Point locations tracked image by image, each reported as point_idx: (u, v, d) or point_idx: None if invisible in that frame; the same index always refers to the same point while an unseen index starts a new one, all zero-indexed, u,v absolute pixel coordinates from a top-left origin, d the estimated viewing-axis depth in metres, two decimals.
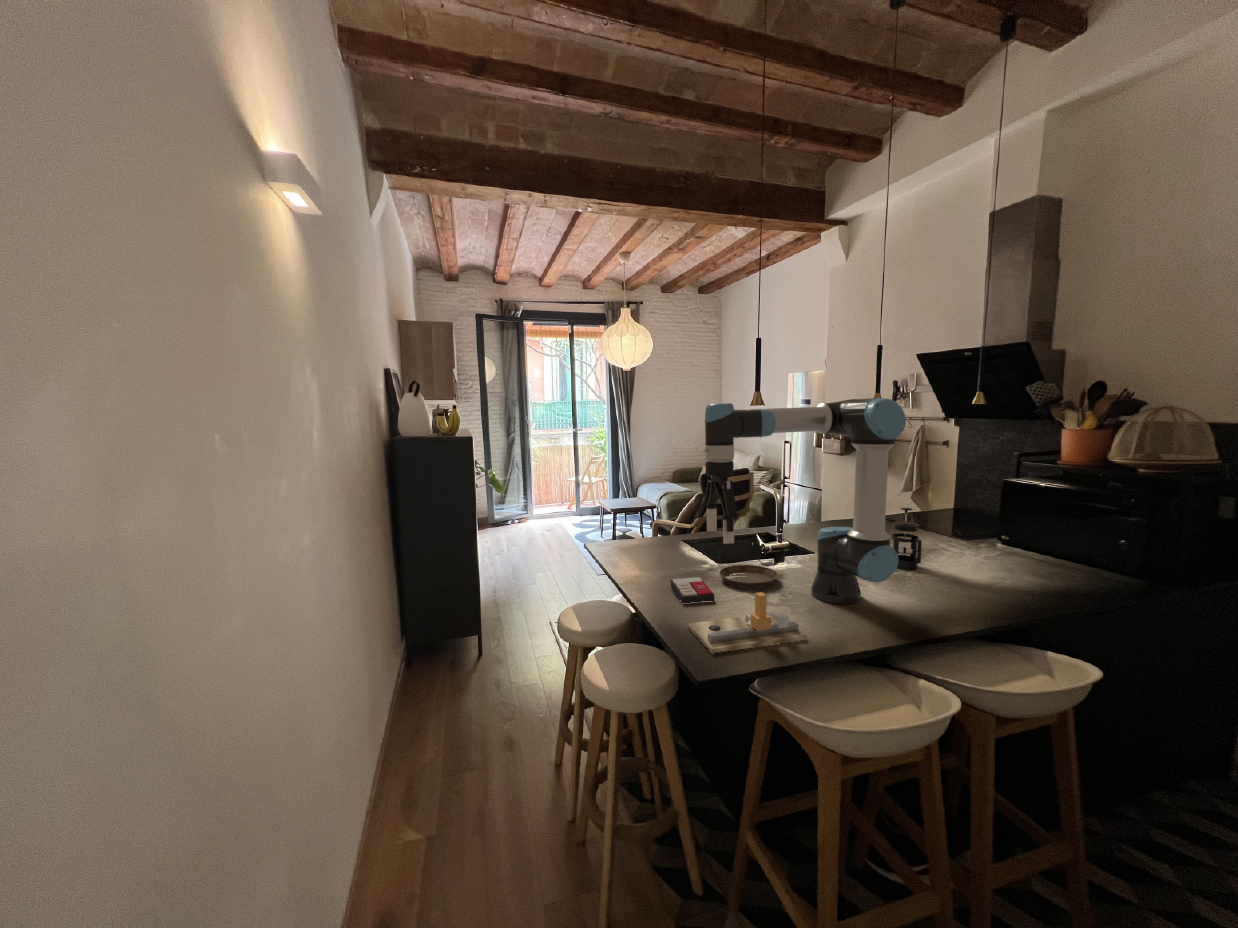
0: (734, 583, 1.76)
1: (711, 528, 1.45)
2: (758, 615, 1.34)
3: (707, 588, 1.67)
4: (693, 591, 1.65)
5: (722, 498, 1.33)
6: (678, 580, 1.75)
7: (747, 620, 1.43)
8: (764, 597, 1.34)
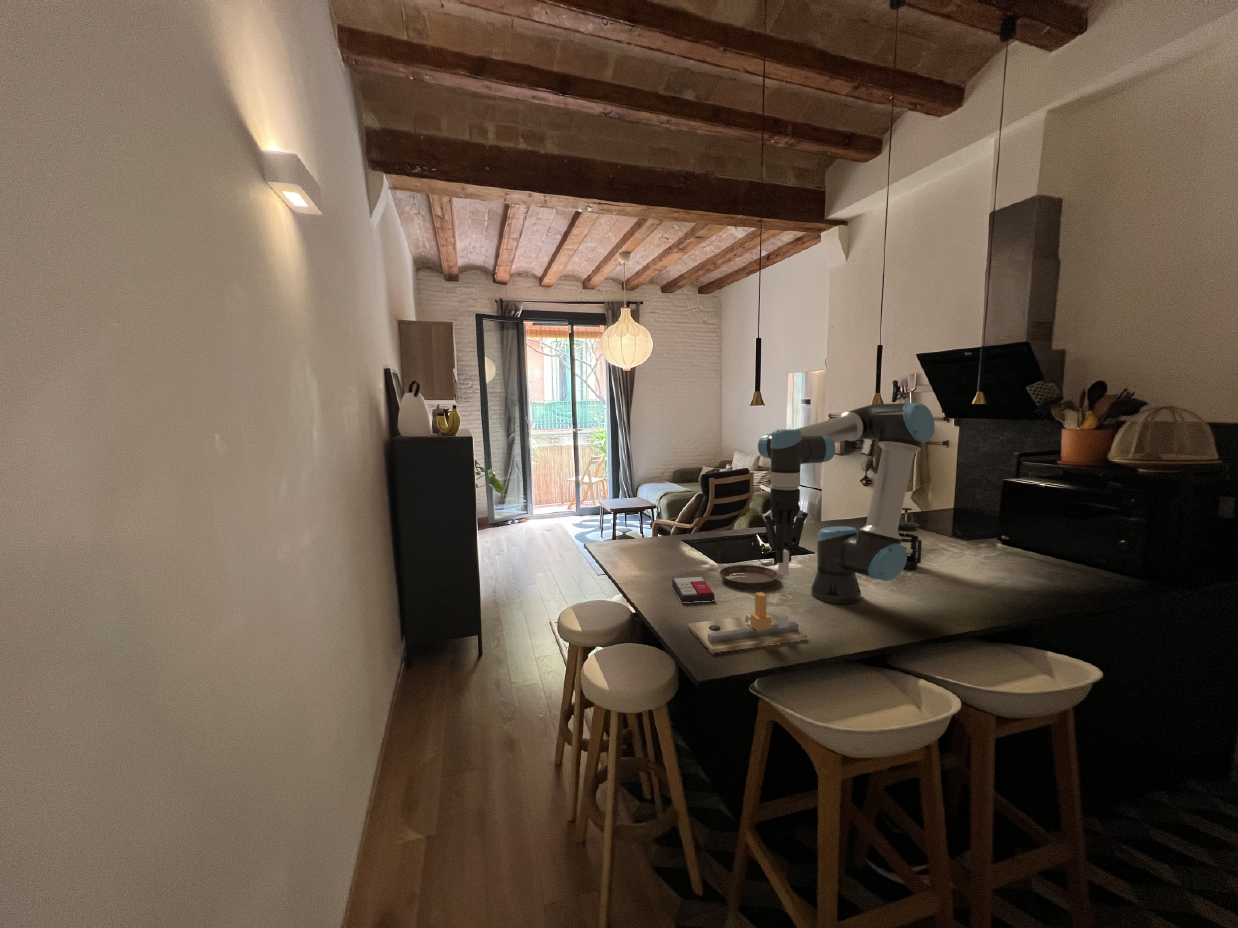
0: (734, 583, 1.76)
1: None
2: (758, 615, 1.34)
3: (707, 588, 1.67)
4: (693, 590, 1.65)
5: (776, 528, 1.35)
6: (679, 579, 1.75)
7: (747, 620, 1.43)
8: (764, 597, 1.34)
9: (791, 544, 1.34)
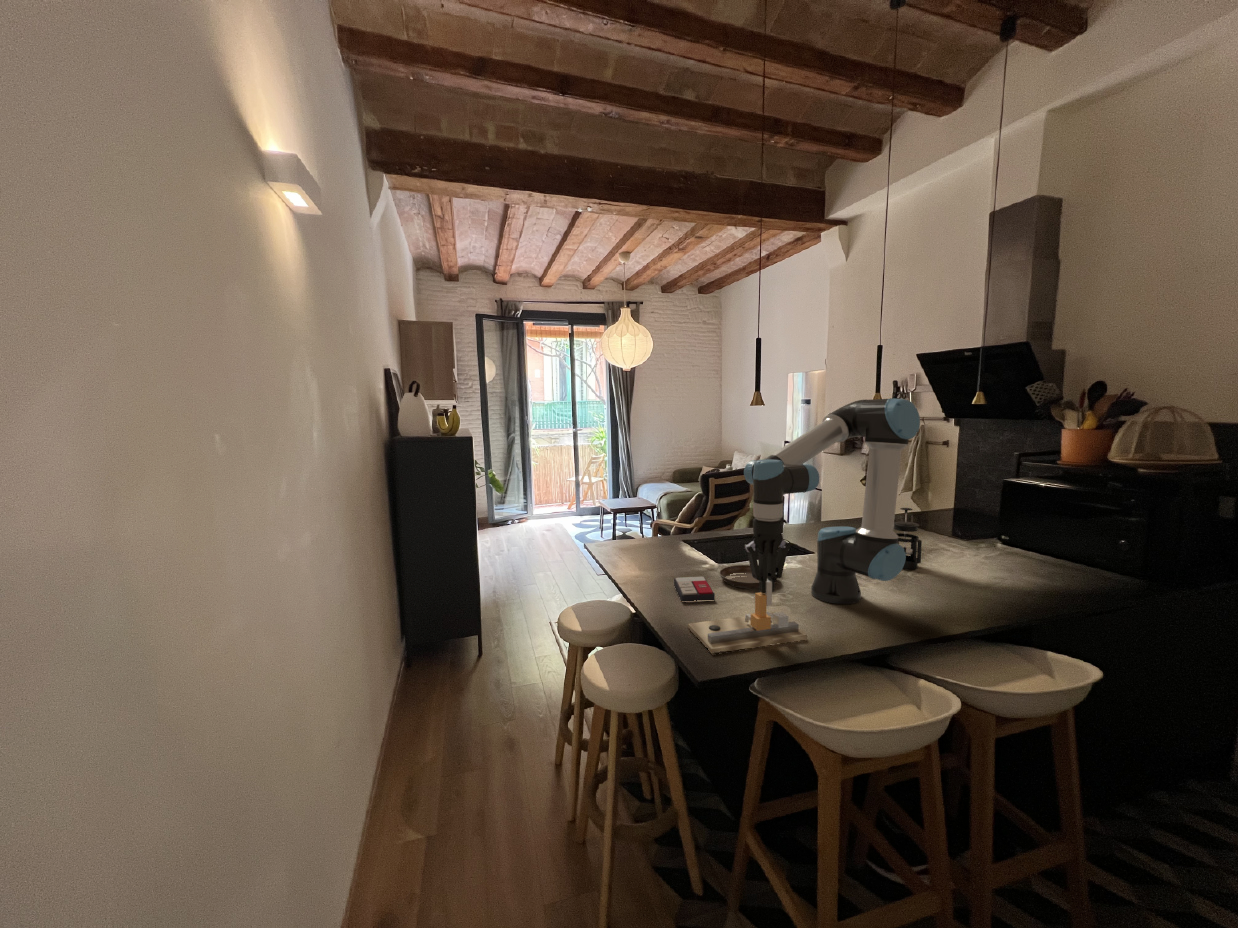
0: (734, 583, 1.76)
1: None
2: (758, 615, 1.34)
3: (708, 587, 1.68)
4: (693, 590, 1.66)
5: (759, 558, 1.35)
6: (681, 579, 1.76)
7: (747, 620, 1.43)
8: (764, 597, 1.34)
9: (774, 574, 1.34)
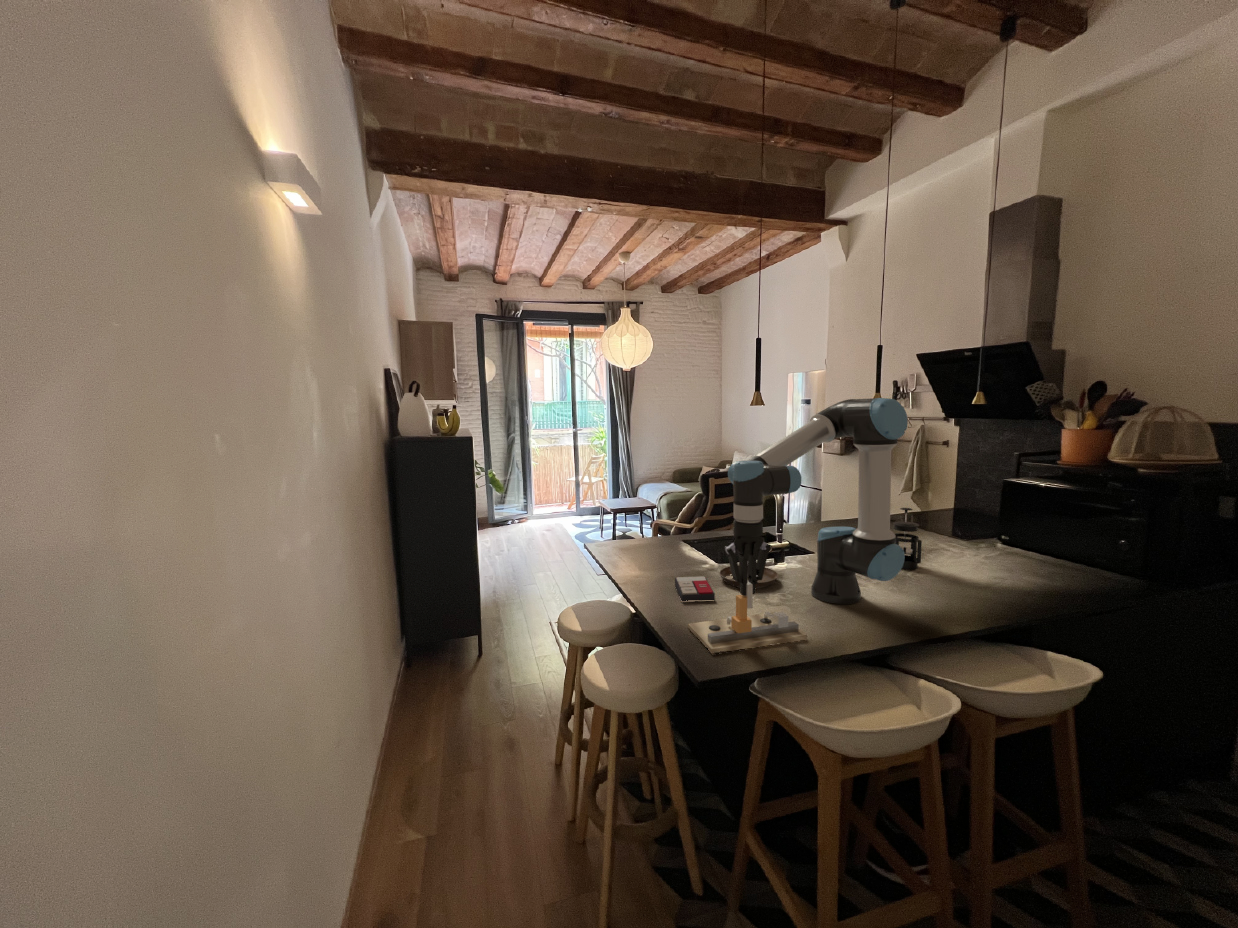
0: (734, 583, 1.76)
1: None
2: (739, 618, 1.33)
3: (708, 587, 1.68)
4: (693, 590, 1.66)
5: (739, 560, 1.33)
6: (682, 578, 1.76)
7: (729, 623, 1.41)
8: (745, 599, 1.32)
9: (755, 577, 1.32)
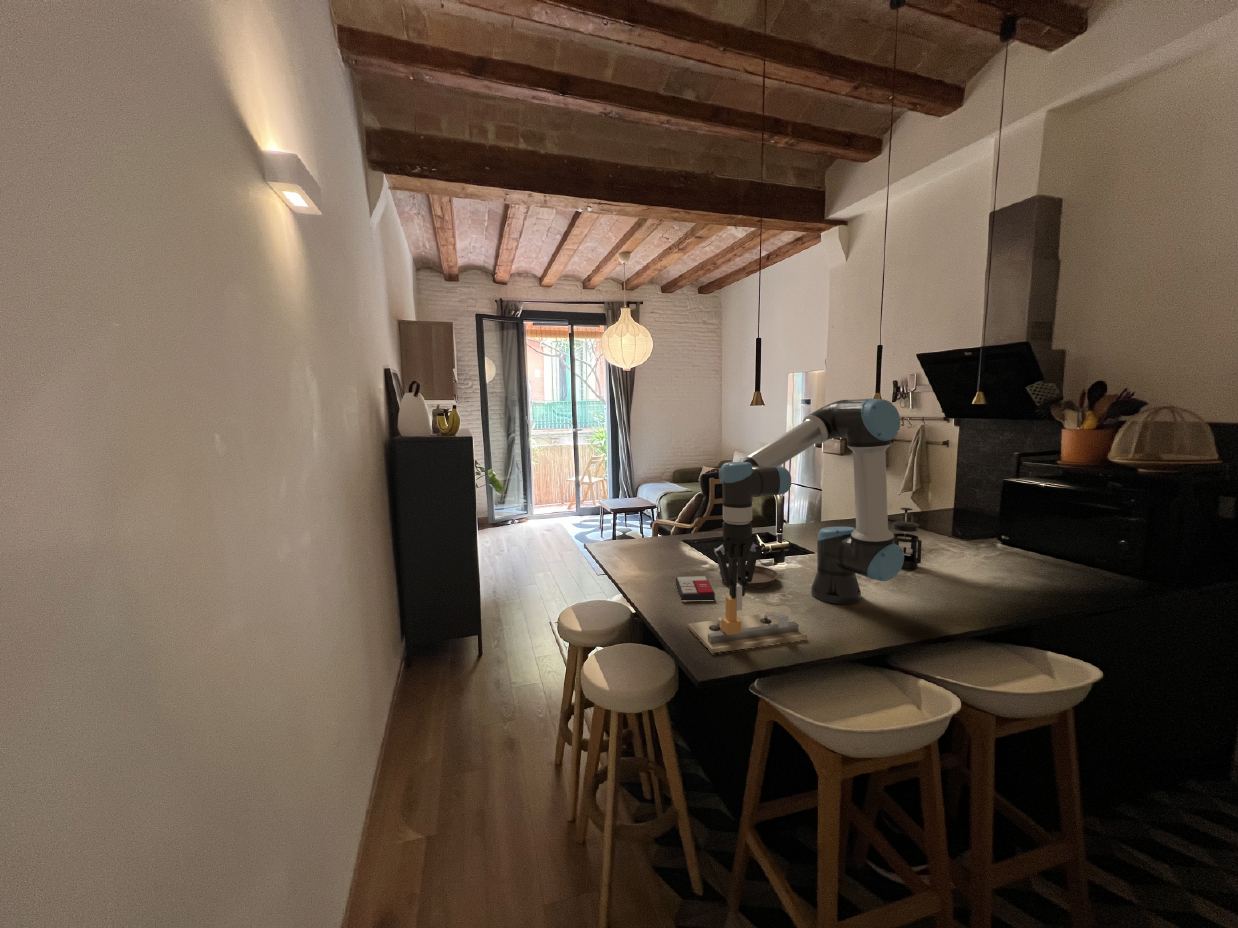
0: None
1: None
2: (728, 619, 1.32)
3: (709, 587, 1.68)
4: (694, 589, 1.66)
5: (729, 562, 1.32)
6: (683, 578, 1.77)
7: (719, 624, 1.41)
8: (734, 601, 1.32)
9: (744, 578, 1.32)
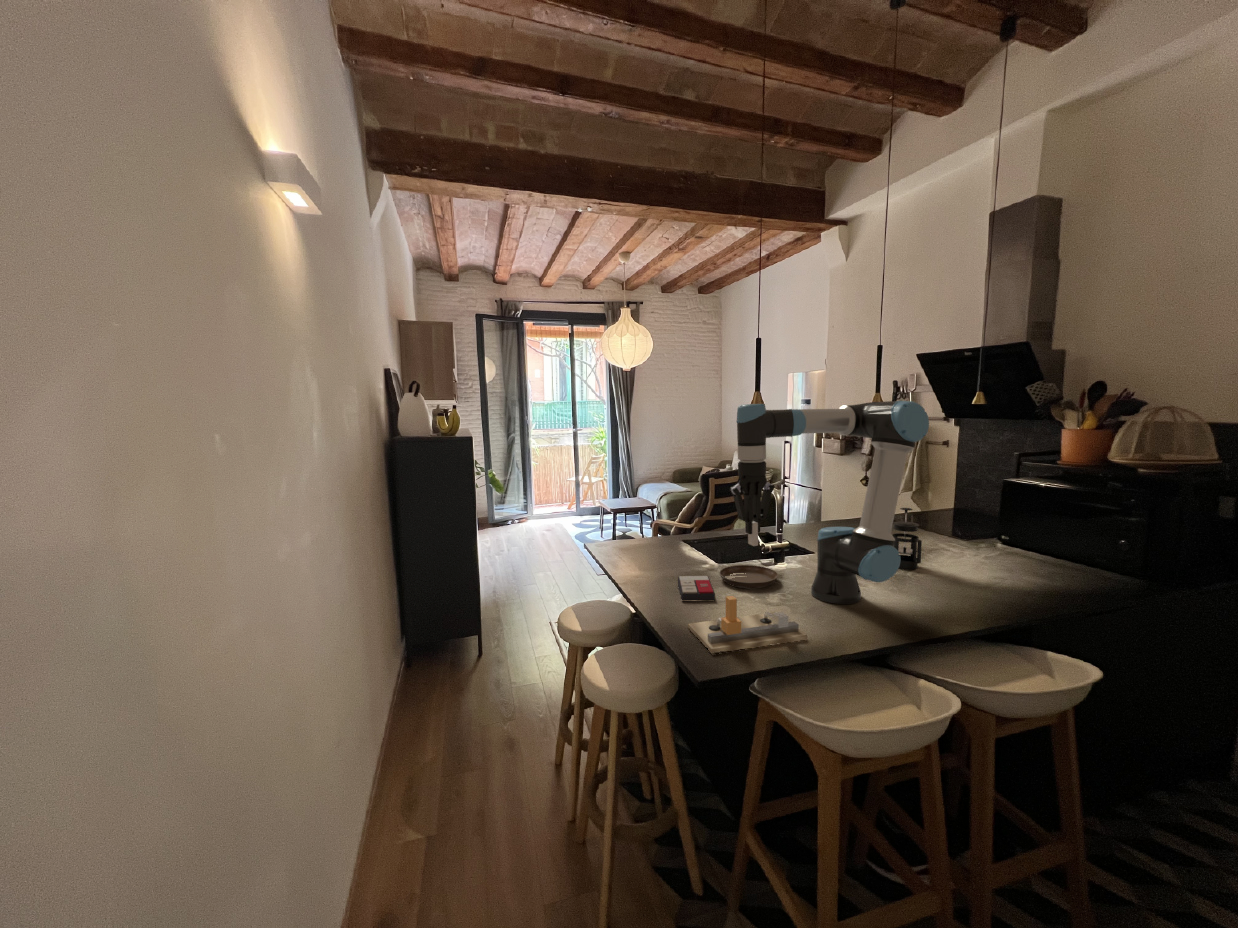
0: (734, 583, 1.76)
1: None
2: (728, 619, 1.32)
3: (709, 587, 1.68)
4: (694, 589, 1.67)
5: (744, 500, 1.39)
6: (684, 577, 1.77)
7: (719, 624, 1.41)
8: (734, 601, 1.32)
9: (759, 515, 1.38)
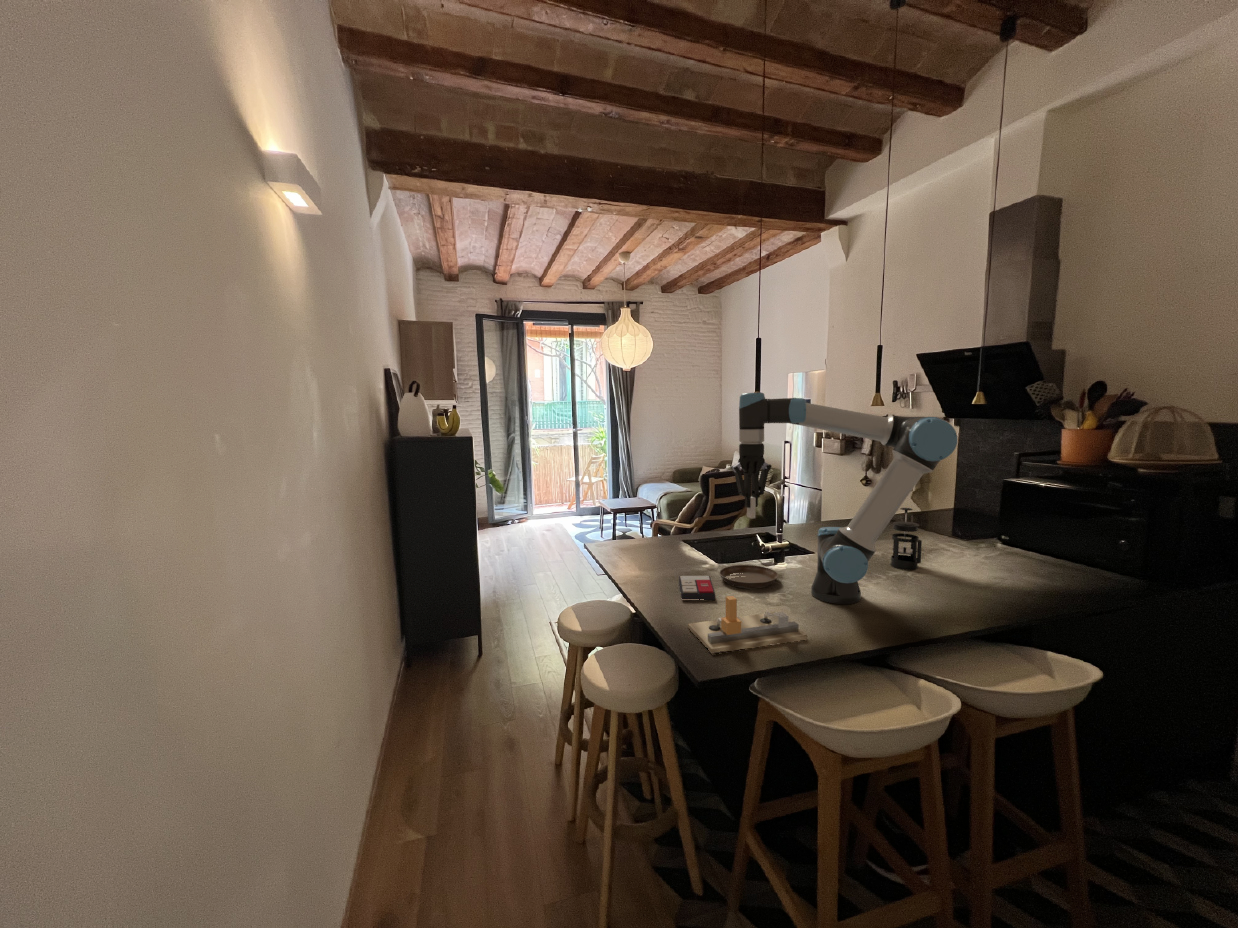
0: (734, 583, 1.76)
1: None
2: (728, 619, 1.32)
3: (710, 587, 1.68)
4: (694, 588, 1.67)
5: (744, 478, 1.57)
6: (685, 577, 1.78)
7: (719, 624, 1.41)
8: (734, 601, 1.32)
9: (757, 491, 1.56)
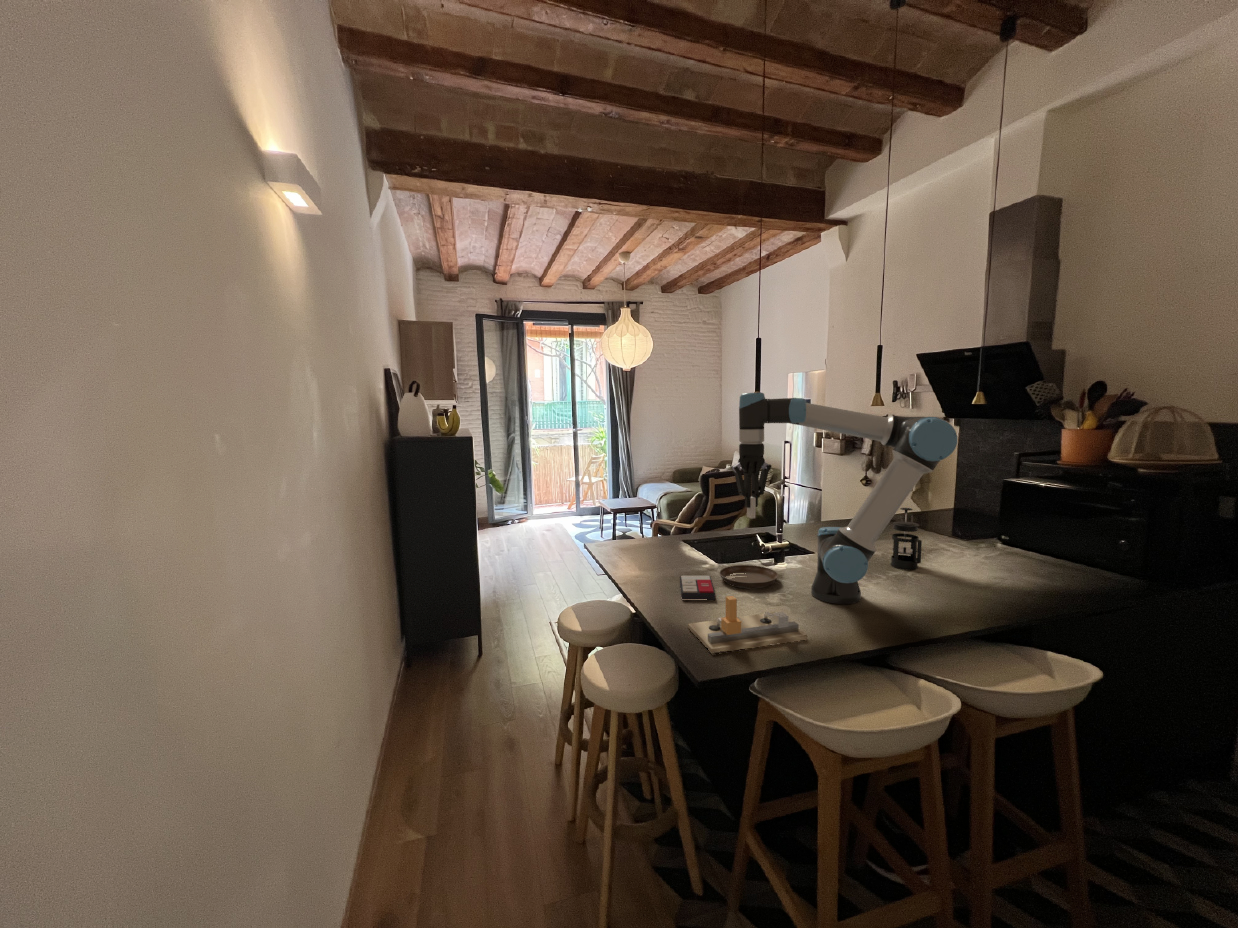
0: (734, 583, 1.76)
1: None
2: (728, 619, 1.32)
3: (710, 586, 1.68)
4: (694, 588, 1.67)
5: (744, 478, 1.57)
6: (686, 577, 1.78)
7: (719, 624, 1.41)
8: (734, 601, 1.32)
9: (757, 491, 1.56)
